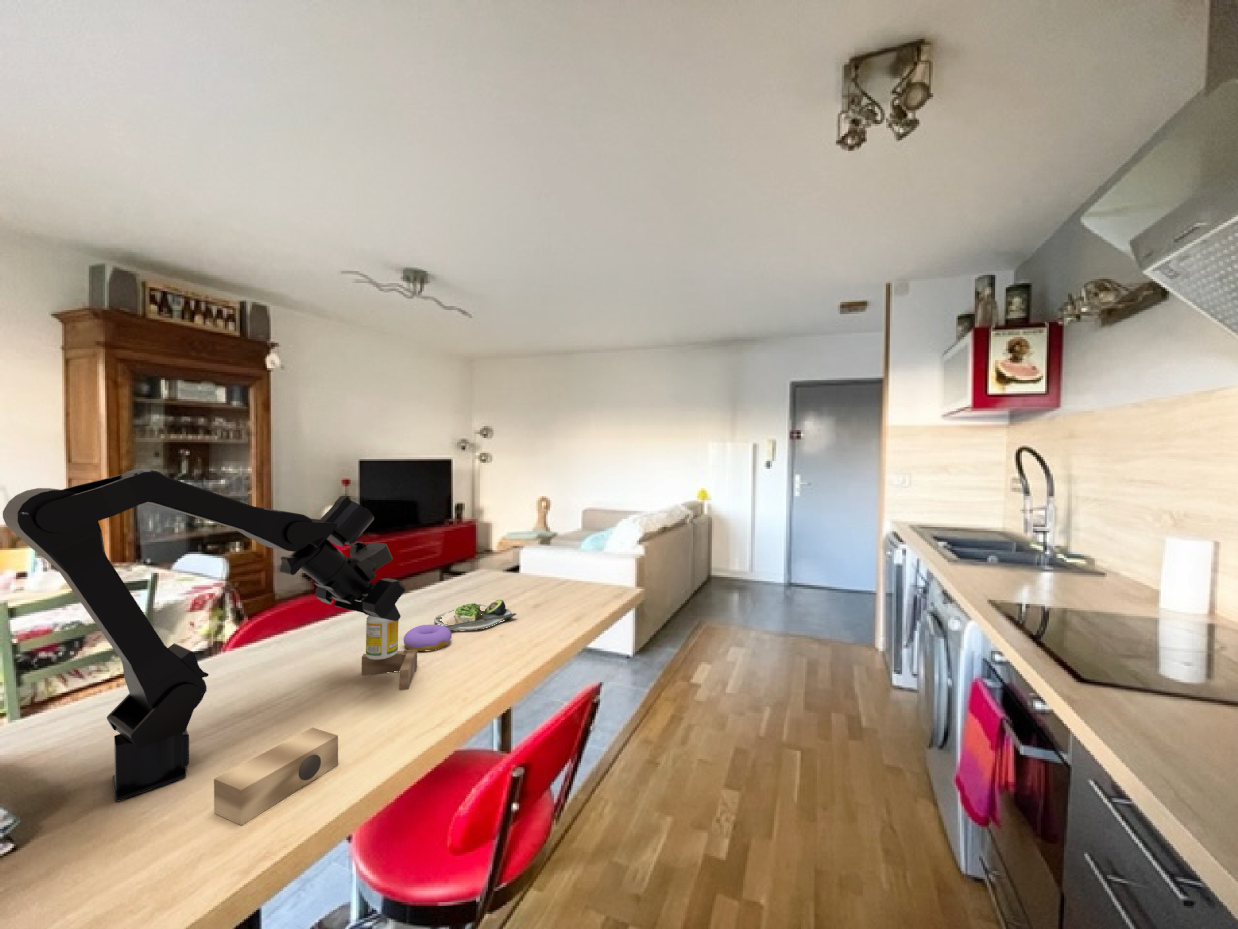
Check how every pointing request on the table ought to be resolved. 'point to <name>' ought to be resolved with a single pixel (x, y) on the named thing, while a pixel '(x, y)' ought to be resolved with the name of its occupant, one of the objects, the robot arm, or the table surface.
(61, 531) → the robot arm
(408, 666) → the v block
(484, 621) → the salad plate
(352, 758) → the table surface
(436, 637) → the donut
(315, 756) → the beam
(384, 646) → the supplement bottle
